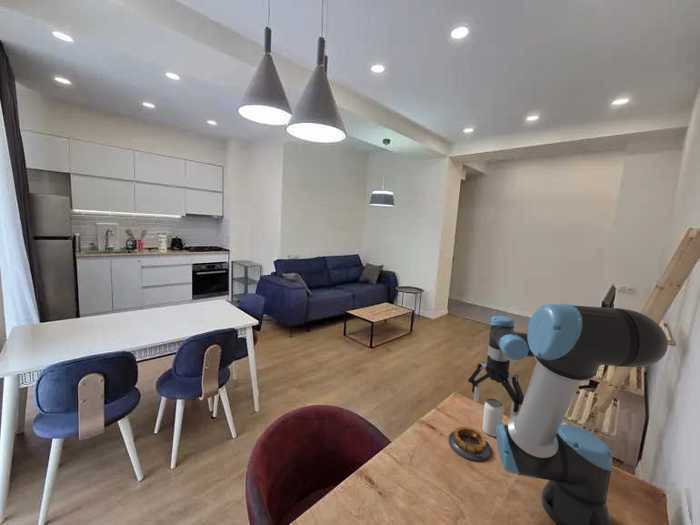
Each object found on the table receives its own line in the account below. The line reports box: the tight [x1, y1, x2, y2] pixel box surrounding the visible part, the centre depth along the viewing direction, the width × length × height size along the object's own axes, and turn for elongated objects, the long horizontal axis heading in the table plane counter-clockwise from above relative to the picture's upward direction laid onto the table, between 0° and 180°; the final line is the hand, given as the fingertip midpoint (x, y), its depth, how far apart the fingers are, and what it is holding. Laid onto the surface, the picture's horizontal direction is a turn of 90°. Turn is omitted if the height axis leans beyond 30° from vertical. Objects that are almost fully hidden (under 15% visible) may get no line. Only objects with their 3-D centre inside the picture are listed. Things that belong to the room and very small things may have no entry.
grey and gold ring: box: [448, 426, 492, 462], centre depth 104 cm, size 14×14×4 cm
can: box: [482, 397, 504, 438], centre depth 111 cm, size 6×6×12 cm
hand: (493, 409), depth 111 cm, fingers open, 13 cm apart
